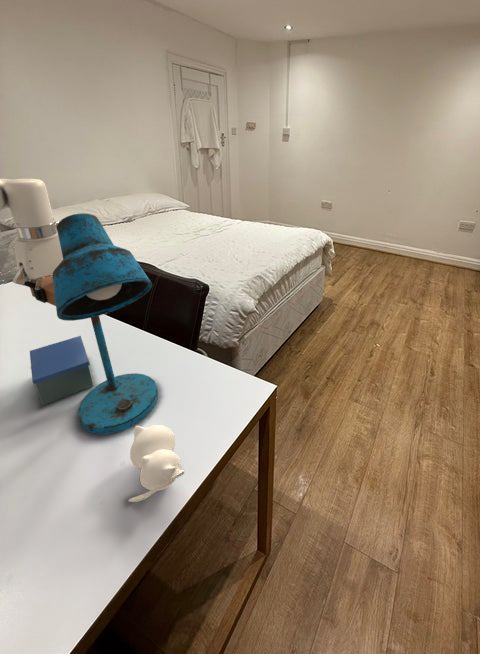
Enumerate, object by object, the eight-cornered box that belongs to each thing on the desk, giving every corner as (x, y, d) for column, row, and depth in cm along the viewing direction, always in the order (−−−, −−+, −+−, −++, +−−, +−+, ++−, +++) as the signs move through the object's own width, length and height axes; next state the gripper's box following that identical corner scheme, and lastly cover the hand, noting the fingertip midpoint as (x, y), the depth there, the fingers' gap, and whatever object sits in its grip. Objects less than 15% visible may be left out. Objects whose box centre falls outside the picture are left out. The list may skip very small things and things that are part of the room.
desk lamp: (99, 466, 61) (40, 244, 44) (70, 399, 75) (17, 212, 58) (179, 418, 72) (156, 225, 55) (141, 367, 86) (113, 201, 69)
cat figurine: (168, 458, 53) (150, 408, 62) (113, 513, 51) (102, 453, 59) (198, 471, 59) (177, 423, 68) (150, 521, 56) (135, 465, 65)
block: (32, 296, 85) (28, 282, 83) (52, 288, 89) (49, 275, 88) (57, 307, 81) (53, 293, 79) (77, 298, 85) (74, 285, 83)
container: (37, 375, 82) (29, 350, 79) (86, 358, 88) (80, 335, 85) (41, 407, 73) (32, 380, 70) (95, 386, 79) (88, 361, 76)
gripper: (64, 220, 87) (78, 281, 93) (-15, 237, 72) (8, 307, 79) (82, 225, 84) (95, 287, 91) (3, 243, 69) (25, 315, 76)
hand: (54, 295), depth 85 cm, fingers closed on block, 5 cm apart
